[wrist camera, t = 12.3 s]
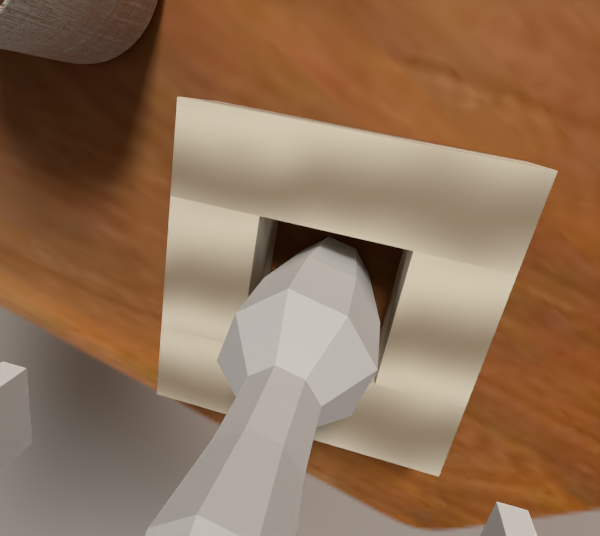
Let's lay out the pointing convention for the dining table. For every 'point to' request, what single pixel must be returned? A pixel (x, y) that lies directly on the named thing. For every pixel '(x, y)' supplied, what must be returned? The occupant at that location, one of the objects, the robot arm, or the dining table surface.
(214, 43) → the dining table surface
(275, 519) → the low poly bottle
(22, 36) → the planter
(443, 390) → the socket block
